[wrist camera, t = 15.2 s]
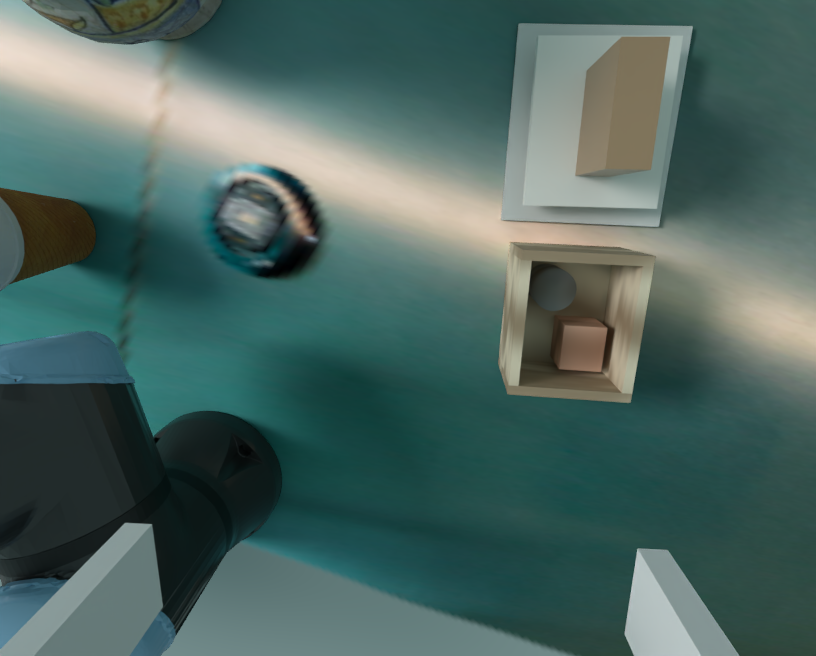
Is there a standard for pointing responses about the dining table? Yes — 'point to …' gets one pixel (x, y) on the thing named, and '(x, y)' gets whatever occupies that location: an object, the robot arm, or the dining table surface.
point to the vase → (127, 18)
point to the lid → (600, 120)
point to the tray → (521, 119)
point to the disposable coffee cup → (40, 234)
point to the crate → (573, 320)
